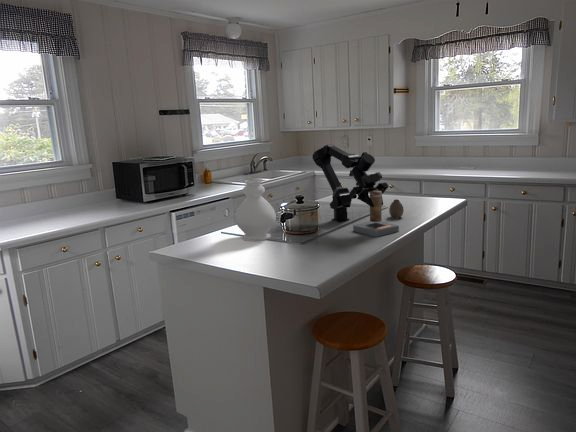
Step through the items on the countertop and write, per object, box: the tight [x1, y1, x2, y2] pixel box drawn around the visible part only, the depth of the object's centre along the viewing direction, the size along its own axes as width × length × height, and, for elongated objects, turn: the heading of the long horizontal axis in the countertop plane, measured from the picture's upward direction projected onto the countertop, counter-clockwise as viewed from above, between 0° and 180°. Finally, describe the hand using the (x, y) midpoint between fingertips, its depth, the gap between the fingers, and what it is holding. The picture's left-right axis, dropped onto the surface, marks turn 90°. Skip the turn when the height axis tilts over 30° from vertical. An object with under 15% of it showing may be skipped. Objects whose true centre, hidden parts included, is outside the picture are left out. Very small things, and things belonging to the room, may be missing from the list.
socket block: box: [352, 220, 400, 238], centre depth 205 cm, size 14×14×3 cm
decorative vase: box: [234, 179, 277, 242], centre depth 201 cm, size 18×18×25 cm
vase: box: [388, 198, 404, 219], centre depth 228 cm, size 7×7×9 cm
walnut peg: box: [369, 191, 383, 222], centre depth 203 cm, size 5×5×13 cm
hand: (377, 205), depth 202 cm, fingers closed on walnut peg, 5 cm apart
